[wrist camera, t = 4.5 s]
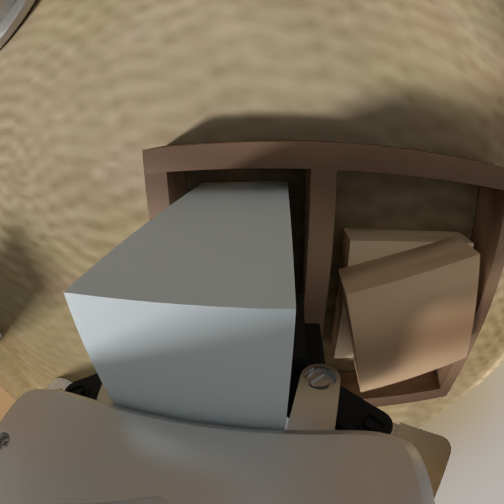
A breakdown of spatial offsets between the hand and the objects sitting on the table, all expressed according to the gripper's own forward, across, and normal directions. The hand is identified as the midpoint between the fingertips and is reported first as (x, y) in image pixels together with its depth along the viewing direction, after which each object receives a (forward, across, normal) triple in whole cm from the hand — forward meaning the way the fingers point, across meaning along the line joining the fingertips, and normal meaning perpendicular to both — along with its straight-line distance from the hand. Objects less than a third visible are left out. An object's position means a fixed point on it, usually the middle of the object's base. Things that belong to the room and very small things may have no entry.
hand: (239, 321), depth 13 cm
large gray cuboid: (+3, 0, 0) cm, 3 cm away
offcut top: (+2, -8, 0) cm, 8 cm away
